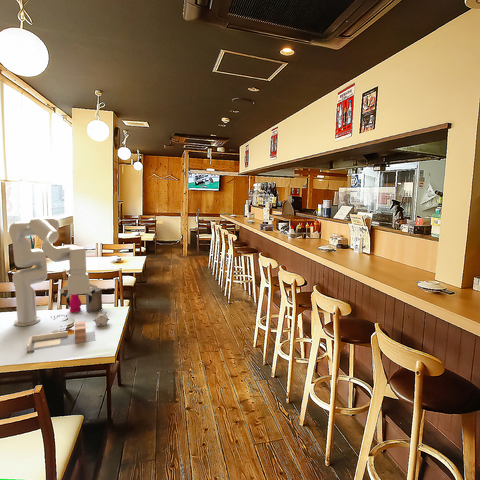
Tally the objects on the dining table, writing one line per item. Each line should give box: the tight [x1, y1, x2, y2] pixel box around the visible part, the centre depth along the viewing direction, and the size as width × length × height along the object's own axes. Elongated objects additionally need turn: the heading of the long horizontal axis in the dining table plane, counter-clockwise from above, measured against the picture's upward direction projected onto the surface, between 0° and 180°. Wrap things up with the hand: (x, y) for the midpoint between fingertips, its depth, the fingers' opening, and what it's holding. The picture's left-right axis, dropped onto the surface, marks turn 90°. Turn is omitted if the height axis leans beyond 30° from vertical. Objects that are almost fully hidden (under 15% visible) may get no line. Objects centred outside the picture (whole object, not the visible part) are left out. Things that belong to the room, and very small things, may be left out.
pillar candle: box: [85, 287, 103, 313], centre depth 212 cm, size 10×10×15 cm
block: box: [74, 320, 87, 344], centre depth 170 cm, size 10×5×7 cm, turn 26°
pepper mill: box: [68, 294, 82, 314], centre depth 208 cm, size 7×7×20 cm
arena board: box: [26, 330, 97, 354], centre depth 167 cm, size 12×30×4 cm, turn 116°
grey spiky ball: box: [92, 312, 111, 327], centre depth 187 cm, size 9×8×10 cm
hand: (79, 303), depth 167 cm, fingers open, 9 cm apart
